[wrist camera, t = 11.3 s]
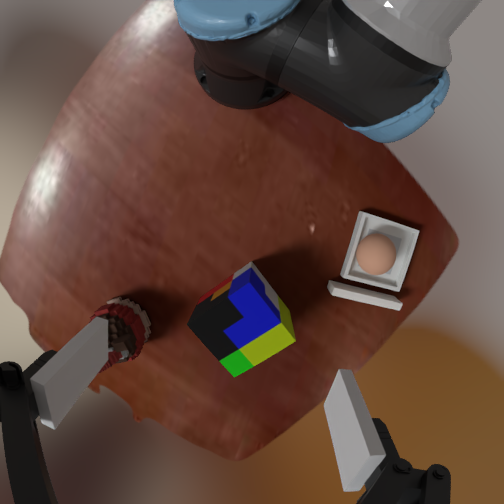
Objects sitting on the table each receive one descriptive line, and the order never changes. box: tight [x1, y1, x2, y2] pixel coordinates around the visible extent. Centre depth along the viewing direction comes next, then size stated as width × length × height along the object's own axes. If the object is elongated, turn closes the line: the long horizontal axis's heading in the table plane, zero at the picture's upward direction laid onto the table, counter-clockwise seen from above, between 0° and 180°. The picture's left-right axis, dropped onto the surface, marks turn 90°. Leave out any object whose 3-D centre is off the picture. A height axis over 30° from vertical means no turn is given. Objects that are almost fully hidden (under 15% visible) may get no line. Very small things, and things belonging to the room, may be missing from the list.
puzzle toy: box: [187, 261, 296, 377], centre depth 44 cm, size 10×10×10 cm
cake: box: [89, 297, 151, 374], centre depth 41 cm, size 11×9×18 cm
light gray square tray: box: [340, 211, 419, 292], centre depth 45 cm, size 10×10×2 cm
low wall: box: [327, 280, 402, 311], centre depth 46 cm, size 1×12×4 cm, turn 76°
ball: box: [356, 233, 396, 275], centre depth 43 cm, size 6×6×6 cm
